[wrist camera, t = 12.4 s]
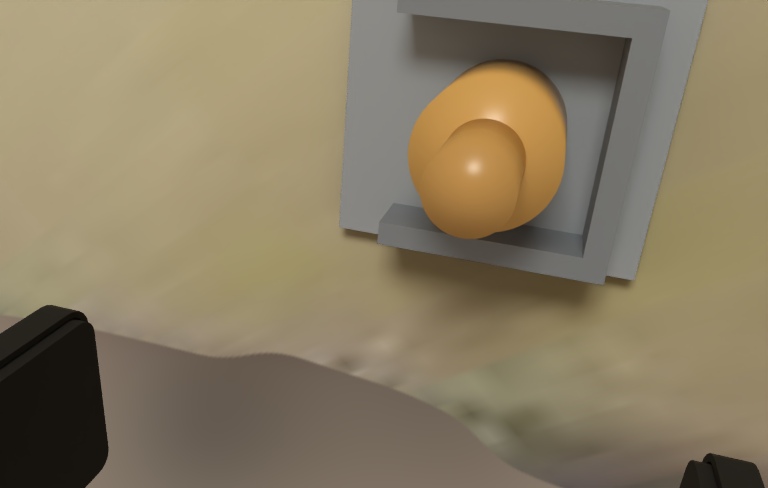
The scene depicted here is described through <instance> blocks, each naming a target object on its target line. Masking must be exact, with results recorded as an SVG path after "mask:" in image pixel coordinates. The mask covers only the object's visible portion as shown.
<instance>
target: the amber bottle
mask: <svg viewBox="0 0 768 488" xmlns="http://www.w3.org/2000/svg"><path fill="white" fill-rule="evenodd" d="M566 140H567V111H566V107H565V103H564V100H563V98H562V96H561V94H560V92H559V90H558V89H557V87H556V85H555V84H554V83H553V82H552V81H551V79H550V78H549V77H547V76H546V75H545V74H544V73H543V72H541V71H540V70H538V69H537V68H535V67H533V66H531V65H529V64H527V63H524V62H521V61H516V60H511V59H496V60H490V61H485V62H482V63H479V64H477V65H475V66H473V67H471V68H469V69H467V70H466V71H464V72H463V73H462V74H460V75H459V76H458V77H457V78H456V79H455V80H454V81H453V82H452V83H451V84H450V85H449V86H447V87H446V88H445V89H444V90H443V91H442V92H441V93H440V94H439V95H438V96H437V97H436V98H435V99H434V100H432V101H431V102H430V103H429V104H428V105H427V107H426V108H425V109H424V110H423V111H422V113H421V114H420V116H419V118H418V119H417V121H416V123H415V125H414V127H413V130H412V133H411V136H410V140H409V146H408V164H409V170H410V175H411V178H412V181H413V184H414V186H415V188H416V190H417V192H418V194H419V196H420V198H421V203H422V206H423V208H424V211H425V212H426V214H427V216H428V217H429V219H430V220H431V221H432V222H433V223H434V224H435V225H436V226H437V227H438V228H439V229H441V230H442V231H444V232H445V233H447V234H449V235H452V236H455V237H458V238H464V239H477V238H482V237H486V236H488V235H491V234H493V233H495V232H502V231H506V230H510V229H513V228H516V227H518V226H521V225H523V224H525V223H526V222H528V221H530V220H532V219H533V218H534V217H536V216H537V215H538V214H539V213H540V212H541V211H543V210H544V209H545V208H546V206H547V205H548V204H549V203H550V201H551V200H552V199H553V197H554V195H555V194H556V192H557V190H558V188H559V185H560V183H561V180H562V176H563V172H564V165H565V154H566Z"/></svg>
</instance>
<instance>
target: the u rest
mask: <svg viewBox="0 0 768 488" xmlns="http://www.w3.org/2000/svg"><path fill="white" fill-rule="evenodd" d="M707 3H708V0H352V15H351V32H350V50H349V67H348V84H347V101H346V119H345V136H344V153H343V170H342V188H341V205H340V222H339V227H341V228H346V229H352V230H357V231H363V232H368V233H374V234H378V240H377V244H382V245H387V246H392V247H398V248H403V249H409V250H414V251H420V252H425V253H431V254H436V255H441V256H447V257H452V258H458V259H463V260H469V261H474V262H480V263H485V264H490V265H496V266H501V267H507V268H512V269H518V270H523V271H528V272H534V273H539V274H545V275H550V276H556V277H561V278H567V279H572V280H577V281H583V282H588V283H594V284H599V285H604V282H605V278H606V276H612V277H617V278H623V279H628V280H634V279H635V276H636V272H637V268H638V264H639V260H640V257H641V253H642V249H643V245H644V241H645V238H646V234H647V230H648V226H649V222H650V219H651V215H652V211H653V207H654V204H655V200H656V196H657V192H658V188H659V185H660V181H661V177H662V173H663V169H664V166H665V162H666V158H667V154H668V150H669V147H670V143H671V139H672V135H673V131H674V128H675V124H676V120H677V116H678V113H679V109H680V105H681V101H682V97H683V94H684V90H685V86H686V82H687V78H688V75H689V71H690V67H691V63H692V59H693V56H694V52H695V48H696V44H697V41H698V37H699V33H700V29H701V25H702V22H703V18H704V14H705V10H706V6H707ZM496 59H511V60H516V61H521V62H524V63H527V64H529V65H531V66H533V67H535V68H537V69H538V70H540V71H541V72H543V73H544V74H545V75H546V76H547V77H549V78H550V79H551V81H552V82H553V83H554V84H555V85H556V87H557V89H558V90H559V92H560V94H561V96H562V98H563V100H564V103H565V107H566V111H567V140H566V154H565V165H564V172H563V176H562V180H561V183H560V185H559V188H558V190H557V192H556V194H555V195H554V197H553V199H552V200H551V201H550V203H549V204H548V205H547V206H546V208H545V209H544V210H543V211H541V212H540V213H539V214H538V215H537V216H536V217H534V218H533V219H532V220H530V221H528V222H526V223H525V224H523V225H521V226H518V227H516V228H513V229H510V230H506V231H502V232H495V233H493V234H491V235H488V236H486V237H482V238H477V239H464V238H458V237H455V236H452V235H449V234H447V233H445V232H444V231H442V230H441V229H439V228H438V227H437V226H436V225H435V224H434V223H433V222H432V221H431V220H430V219H429V217H428V216H427V214H426V212H425V211H424V208H423V206H422V203H421V198H420V196H419V194H418V192H417V190H416V188H415V186H414V184H413V181H412V178H411V175H410V170H409V164H408V146H409V140H410V136H411V133H412V130H413V127H414V125H415V123H416V121H417V119H418V118H419V116H420V114H421V113H422V111H423V110H424V109H425V108H426V107H427V105H428V104H429V103H430V102H431V101H432V100H434V99H435V98H436V97H437V96H438V95H439V94H440V93H441V92H442V91H443V90H444V89H445V88H446V87H447V86H449V85H450V84H451V83H452V82H453V81H454V80H455V79H456V78H457V77H458V76H459V75H460V74H462V73H463V72H464V71H466V70H467V69H469V68H471V67H473V66H475V65H477V64H479V63H482V62H485V61H490V60H496Z"/></svg>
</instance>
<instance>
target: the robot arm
mask: <svg viewBox="0 0 768 488" xmlns="http://www.w3.org/2000/svg"><path fill="white" fill-rule="evenodd" d="M107 457H108V441H107V432H106V424H105V416H104V407H103V399H102V391H101V382H100V375H99V366H98V358H97V349H96V341H95V332H94V328H93V326H92V325H91V324H90V323H88V320H87V317H86V316H85V315H84V313H82V312H80V311H76V310H71V309H67V308H62V307H58V306H53V305H46V306H44V307H42V308H40V309H38V310H37V311H35V312H33V313H32V314H30V315H29V316H27V317H26V318H24V319H23V320H21V321H20V322H18V323H16V324H15V325H13V326H12V327H10V328H8V329H7V330H5V331H4V332H3V333H1V334H0V488H85V487H86V486H87V485H88V484H89V483H90V482H91V481H92V480H93V479H94V478H95V476H96V475H97V474H98V473H99V472H100V471H101V470H102V468H103V466H104V465H105V463H106V460H107ZM680 488H765V487H764V484H763V481H762V478H761V476H760V473H759V470H758V468H757V466H756V465H755V464H754V463H752V462H747V461H743V460H738V459H734V458H729V457H725V456H720V455H716V454H712V453H709V454H707V455H706V456H705V457H704V459H703V461H702V462H698V461H694V460H691V461H690V462H689V463H688V465H687V467H686V470H685V473H684V476H683V479H682V482H681V485H680Z"/></svg>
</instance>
